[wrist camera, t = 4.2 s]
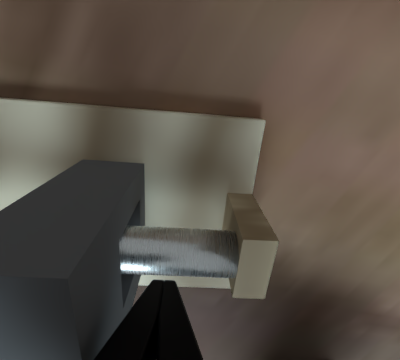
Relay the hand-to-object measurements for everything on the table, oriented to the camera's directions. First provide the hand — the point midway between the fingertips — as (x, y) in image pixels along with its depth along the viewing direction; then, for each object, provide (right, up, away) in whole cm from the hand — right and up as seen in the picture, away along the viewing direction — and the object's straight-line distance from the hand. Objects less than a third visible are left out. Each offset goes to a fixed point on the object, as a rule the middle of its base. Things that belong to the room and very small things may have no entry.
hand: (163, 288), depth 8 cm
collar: (-3, +2, +4) cm, 6 cm away
